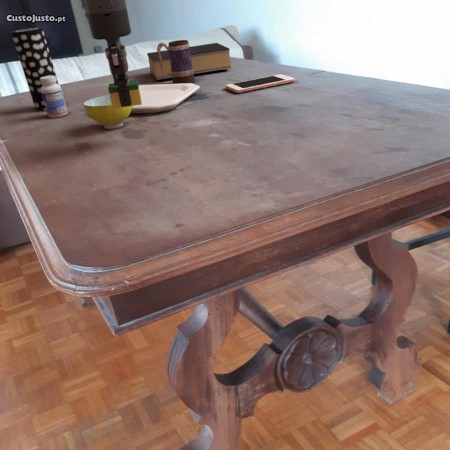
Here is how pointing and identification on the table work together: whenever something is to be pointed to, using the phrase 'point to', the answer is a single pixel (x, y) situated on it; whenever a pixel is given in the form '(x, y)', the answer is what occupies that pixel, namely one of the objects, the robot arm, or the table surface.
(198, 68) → the book
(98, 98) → the bowl
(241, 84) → the cell phone
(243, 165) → the table surface
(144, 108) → the plate
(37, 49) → the white-spotted black cylinder
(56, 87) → the pill bottle
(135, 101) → the sponge
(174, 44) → the mug
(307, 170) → the table surface
